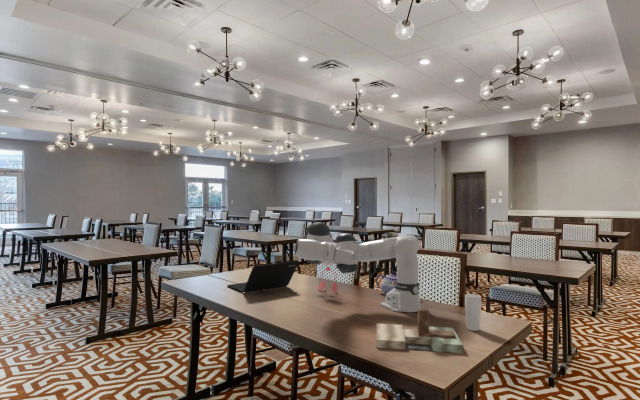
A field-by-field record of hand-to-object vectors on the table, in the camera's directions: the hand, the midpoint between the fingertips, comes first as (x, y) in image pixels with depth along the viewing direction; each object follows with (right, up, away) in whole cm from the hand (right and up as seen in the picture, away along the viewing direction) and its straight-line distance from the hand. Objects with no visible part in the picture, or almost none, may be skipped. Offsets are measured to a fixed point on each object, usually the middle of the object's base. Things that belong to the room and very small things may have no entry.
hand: (364, 257), depth 157 cm
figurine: (-16, -34, +77) cm, 85 cm away
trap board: (+21, -33, -5) cm, 39 cm away
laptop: (-56, -34, +88) cm, 110 cm away
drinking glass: (+49, -33, +10) cm, 60 cm away
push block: (+28, -30, -6) cm, 42 cm away
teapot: (+27, -34, +71) cm, 83 cm away
